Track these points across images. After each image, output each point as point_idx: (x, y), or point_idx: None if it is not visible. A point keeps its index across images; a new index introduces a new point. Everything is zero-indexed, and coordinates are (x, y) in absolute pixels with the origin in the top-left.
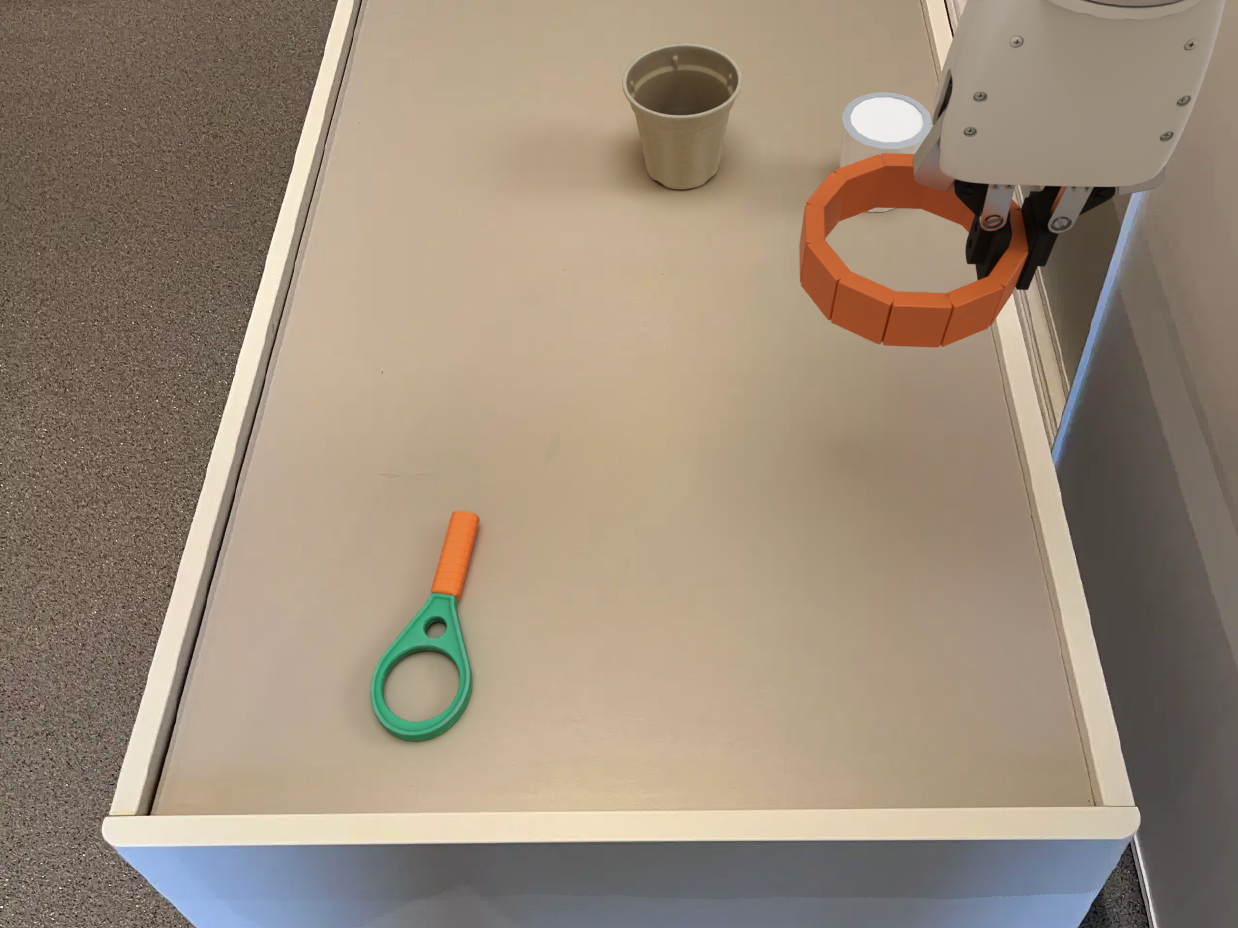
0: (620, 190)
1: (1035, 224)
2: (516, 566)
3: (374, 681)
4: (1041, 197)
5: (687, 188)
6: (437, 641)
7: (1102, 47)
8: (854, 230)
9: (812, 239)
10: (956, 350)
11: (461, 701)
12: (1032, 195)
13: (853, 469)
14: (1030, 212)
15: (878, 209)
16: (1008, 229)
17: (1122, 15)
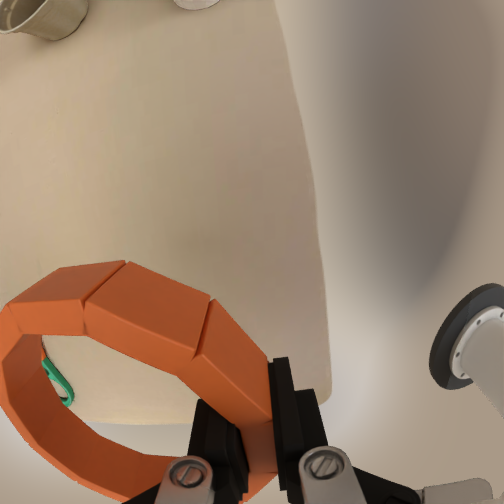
0: (33, 54)
1: (285, 482)
2: (56, 337)
3: None
4: (294, 488)
5: (67, 35)
6: (49, 377)
7: None
8: (184, 28)
9: (28, 442)
10: (271, 131)
11: (70, 398)
12: (286, 451)
13: (201, 256)
14: (279, 469)
15: (202, 7)
16: (240, 496)
17: None
